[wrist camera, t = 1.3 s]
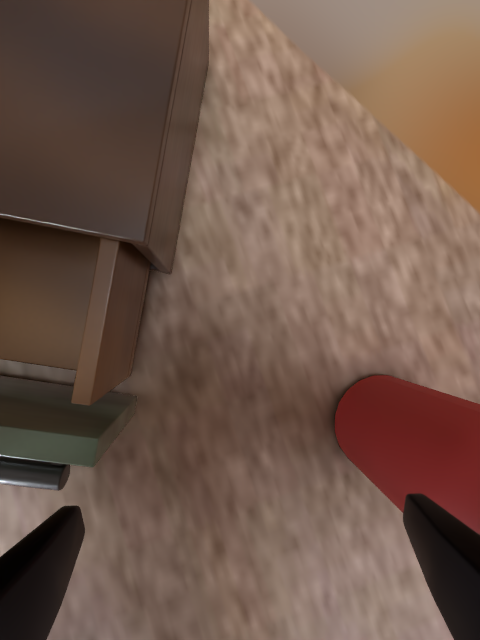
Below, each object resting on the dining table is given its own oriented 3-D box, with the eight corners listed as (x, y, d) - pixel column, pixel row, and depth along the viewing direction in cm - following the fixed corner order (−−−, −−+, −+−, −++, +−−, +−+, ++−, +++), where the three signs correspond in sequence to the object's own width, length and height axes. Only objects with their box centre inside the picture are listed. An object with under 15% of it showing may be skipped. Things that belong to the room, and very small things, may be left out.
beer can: (376, 353, 22) (566, 394, 11) (437, 417, 23) (685, 525, 11) (311, 421, 22) (434, 544, 10) (375, 485, 23) (564, 673, 11)
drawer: (123, 478, 20) (75, 569, 13) (-97, 452, 19) (-286, 536, 12) (171, 205, 20) (151, 143, 13) (-43, 161, 19) (-195, 65, 12)
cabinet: (171, 274, 21) (144, 242, 12) (-55, 232, 20) (-270, 161, 11) (209, 61, 21) (209, -123, 12) (-12, 5, 20) (-191, -248, 11)
